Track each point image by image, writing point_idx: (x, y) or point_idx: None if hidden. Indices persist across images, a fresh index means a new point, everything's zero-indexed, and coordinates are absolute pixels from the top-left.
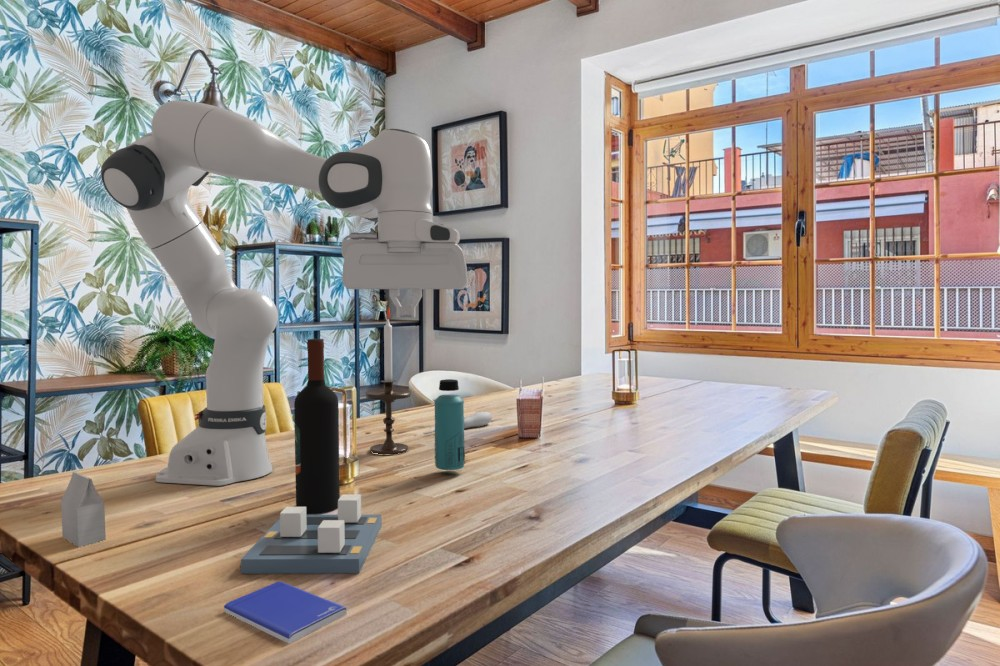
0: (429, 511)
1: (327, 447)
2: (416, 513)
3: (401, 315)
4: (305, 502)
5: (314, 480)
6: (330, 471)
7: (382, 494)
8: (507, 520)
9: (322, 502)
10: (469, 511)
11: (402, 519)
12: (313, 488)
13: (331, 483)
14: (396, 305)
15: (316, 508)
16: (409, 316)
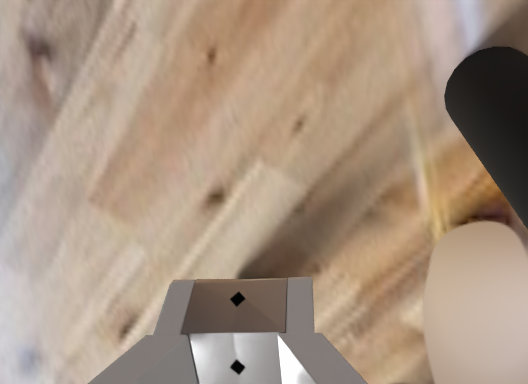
0: (252, 76)
1: (514, 110)
2: (276, 62)
3: (271, 279)
4: (521, 54)
5: (518, 68)
6: (485, 94)
7: (366, 172)
8: (86, 31)
9: (482, 59)
10: (172, 80)
11: (298, 24)
12: (514, 61)
13: (474, 86)
14: (314, 341)
15: (491, 51)
16: (210, 279)
